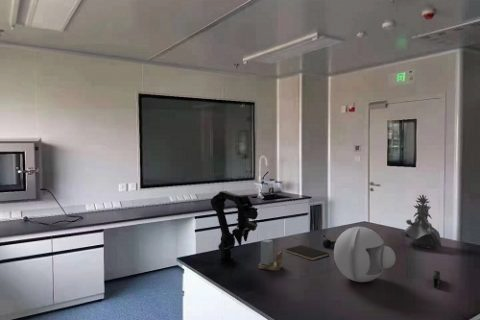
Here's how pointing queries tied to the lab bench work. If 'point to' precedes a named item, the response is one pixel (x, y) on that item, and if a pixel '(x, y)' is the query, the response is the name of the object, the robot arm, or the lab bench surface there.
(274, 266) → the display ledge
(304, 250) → the hardcover book
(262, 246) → the grey tapered block
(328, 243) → the headset
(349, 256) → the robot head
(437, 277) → the mobile phone
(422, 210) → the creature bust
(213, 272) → the lab bench surface
